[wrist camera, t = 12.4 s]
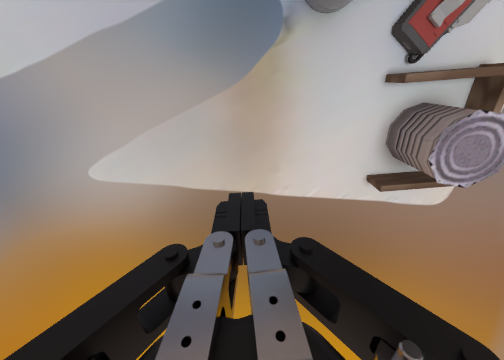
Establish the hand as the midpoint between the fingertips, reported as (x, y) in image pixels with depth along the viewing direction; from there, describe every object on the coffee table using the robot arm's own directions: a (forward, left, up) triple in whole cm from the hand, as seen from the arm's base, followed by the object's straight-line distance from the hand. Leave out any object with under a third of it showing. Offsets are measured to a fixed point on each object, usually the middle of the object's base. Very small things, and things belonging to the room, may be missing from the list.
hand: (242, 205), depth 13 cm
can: (+5, +33, -29) cm, 44 cm away
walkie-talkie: (-16, +33, -29) cm, 47 cm away
